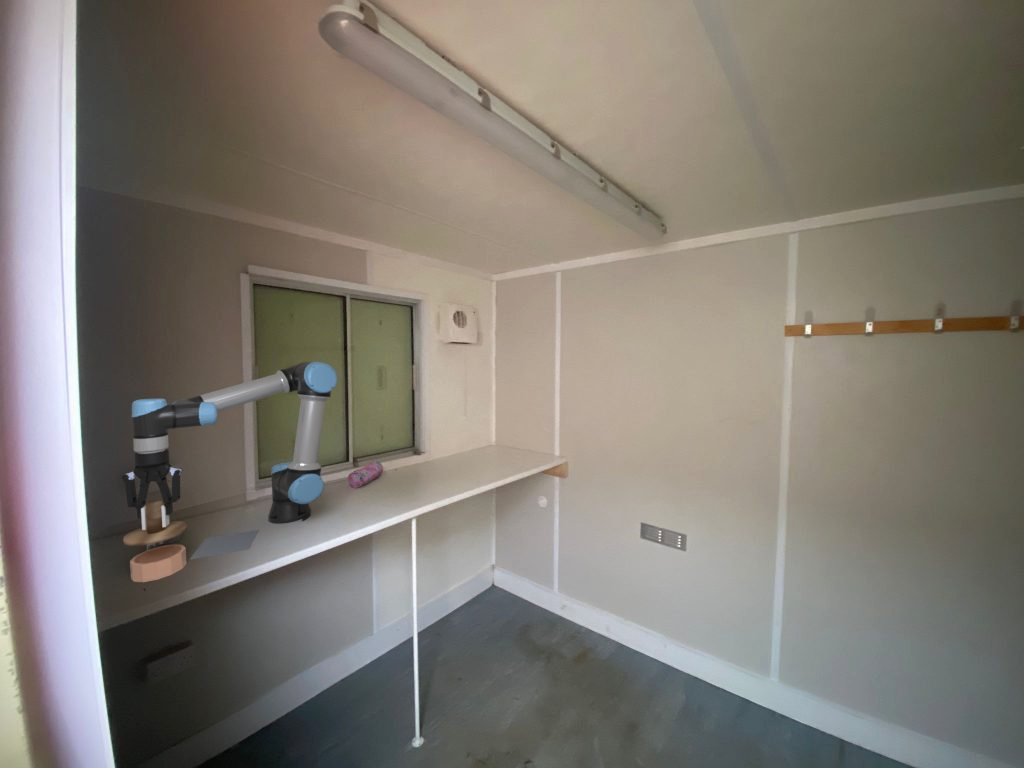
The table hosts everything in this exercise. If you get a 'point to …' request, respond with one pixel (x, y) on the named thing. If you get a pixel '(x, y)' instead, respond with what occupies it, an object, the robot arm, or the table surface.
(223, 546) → the slate mat
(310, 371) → the robot arm
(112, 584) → the table surface
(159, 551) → the terracotta bowl
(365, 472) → the pencil case
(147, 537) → the walnut lid
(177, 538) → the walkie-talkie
